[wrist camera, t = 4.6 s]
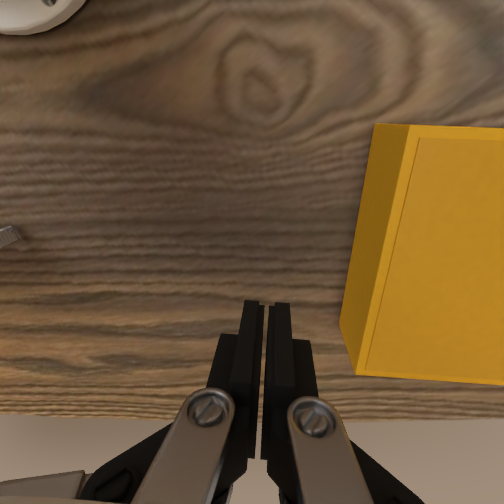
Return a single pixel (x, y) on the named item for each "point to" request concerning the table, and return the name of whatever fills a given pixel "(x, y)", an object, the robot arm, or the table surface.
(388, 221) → the case
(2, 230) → the caliper
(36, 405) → the table surface
